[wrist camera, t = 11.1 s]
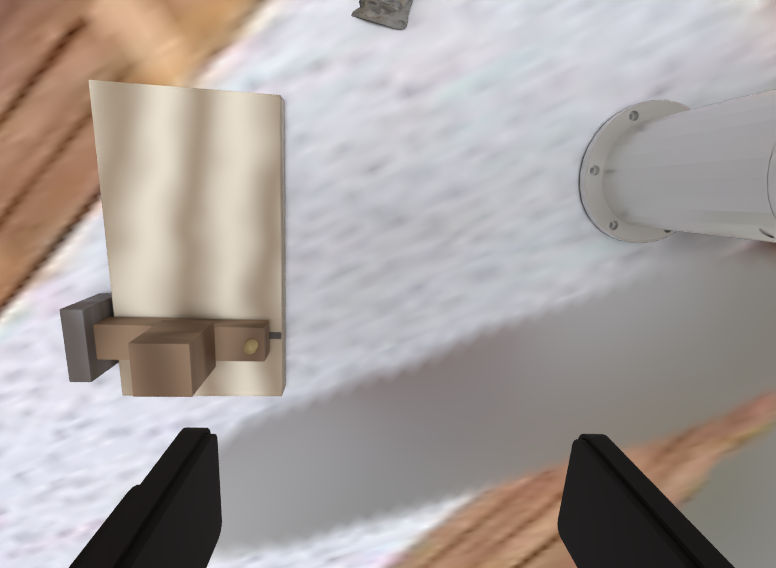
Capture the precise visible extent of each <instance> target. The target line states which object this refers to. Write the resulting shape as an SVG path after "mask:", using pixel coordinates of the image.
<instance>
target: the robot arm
mask: <svg viewBox="0 0 776 568" xmlns="http://www.w3.org/2000/svg"><path fill="white" fill-rule="evenodd" d="M590 169H591V173H590ZM580 191H581V198H582V202H583V205H584V207H585V210H586V212H587V214H588V216H589V217H590V219H591V220H592V222H593V223H594V224H595V225H596V226H597V227H598V228H599V229H600V230H601V231H603V232H604V233H606V234H607V235H609V236H610V237H613V238H616V239H618V240H622V241H627V242H634V243H646V242H652V241H657V240H660V239H662V238H665V237H668V236H669V235H671V234H673V233H675V232H677V231H682V232H691V233H699V234H707V235H716V236H724V237H733V238H741V239H749V240H758V241H766V242H775V243H776V89H772V90H768V91H764V92H760V93H756V94H752V95H748V96H744V97H740V98H736V99H732V100H727V101H723V102H719V103H715V104H711V105H707V106H703V107H699V108H695V109H690V108H689V107H687V106H685V105H682V104H680V103H678V102H674V101H669V100H652V101H647V102H643V103H639V104H637V105H634V106H631V107H628V108H626V109H624V110H623V111H621V112H619V113H617V114H616V115H614V116H613V117H612V118H611V119H610V120H608V121H607V122H606V123H605V124H604V125H603V126H602V127H601V129H600V130H599V131H598V132H597V133H596V135H595V136H594V138H593V140H592V141H591V143H590V145H589V146H588V149H587V151H586V154H585V156H584V159H583V163H582V168H581V173H580ZM609 224H610V225H609ZM219 479H220V478H219V460H218V441H217V436H216V434H211V433H210V430H209V429H208V428H183V429H182V430H181V431H180V433H179V434H178V435H177V437H176V438H175V439H174V441H173V442H172V443H171V445H170V446H169V447H168V449H167V450H166V451H165V452H164V454H163V455H162V456H161V458H160V459H159V460H158V462H157V463H156V464H155V466H154V467H153V468H152V470H151V471H150V472H149V474H148V475H147V476H146V477H145V479H144V480H143V481H142V483H141V484H140V485H136V486H134V487H132V488H131V489H130V490H129V491H128V492H127V494H126V495H125V496H124V498H123V499H122V500H121V501H120V503H119V504H118V505H117V506H116V508H115V509H114V510H113V512H112V513H111V514H110V515H109V517H108V518H107V519H106V521H105V522H104V523H103V524H102V526H101V527H100V528H99V530H98V531H97V532H96V533H95V535H94V536H93V537H92V538H91V540H90V541H89V542H88V544H87V545H86V546H85V547H84V549H83V550H82V551H81V553H80V554H79V555H78V556H77V558H76V559H75V560H74V561H73V563H72V564H71V565H70V567H69V568H206V567H207V565H208V563H209V560H210V558H211V555H212V553H213V551H214V548H215V546H216V544H217V541H218V539H219V536H220V532H221V526H222V515H221V496H220V480H219ZM558 531H559V534H560V537H561V539H562V541H563V543H564V544H565V546H566V548H567V550H568V552H569V553H570V555H571V557H572V559H573V561H574V562H575V564H576V566H577V568H734V567H733V565H732V564H730V562H728V560H727V559H726V558H725V557H724V556H723V555H722V554H721V553H720V552H719V551H718V550H717V549H716V548H715V547H714V546H713V545H712V544H711V543H710V542H709V541H708V540H707V539H706V538H705V537H704V536H703V535H702V534H701V532H700V531H699V530H698V529H697V528H696V527H695V526H694V525H693V524H692V523H691V522H690V521H689V520H688V519H687V518H686V517H685V516H684V515H683V514H682V513H681V512H680V511H679V510H678V509H677V508H676V507H675V506H674V505H673V504H672V503H671V502H670V501H669V500H668V498H667V497H666V496H665V495H664V494H663V493H662V492H661V491H660V490H659V489H658V488H657V487H656V486H655V485H654V484H653V483H652V482H651V481H650V480H649V479H648V478H647V477H646V476H645V475H644V474H643V473H642V472H641V471H640V470H639V469H638V468H637V467H636V465H635V464H634V463H633V462H632V461H631V460H630V459H629V458H628V457H627V456H626V455H625V454H624V453H623V452H622V451H621V450H620V449H619V448H618V447H617V446H616V445H615V444H614V443H613V442H612V441H611V440H610V439H609V438H608V437H607V436H606V435H603V434H581V435H580V436H579V438H578V439H576V440H574V442H573V444H572V449H571V454H570V460H569V465H568V470H567V475H566V480H565V486H564V491H563V496H562V501H561V506H560V512H559V517H558Z"/></svg>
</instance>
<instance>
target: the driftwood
mask: <svg viewBox="0 0 776 568" xmlns="http://www.w3.org/2000/svg"><path fill="white" fill-rule="evenodd" d="M412 1H413V0H359V3H360V8H358V9H356V10H355V11H353V13H352V15H351V16H353V17H354V16H356V17H357V18H358V17H360V18H363V19H365V20H368V21H373V22H376V23H379V24H384V25H386V26H389V27H392V28H395V29H404V28H405V27H406V26H407V22H408V21H407V20H408V14H409V9H410V6H411V4H412Z"/></svg>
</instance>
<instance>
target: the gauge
mask: <svg viewBox="0 0 776 568" xmlns="http://www.w3.org/2000/svg"><path fill="white" fill-rule="evenodd" d="M60 316H61V323H62V330H63V337H64V344H65V352H66V359H67V366H68V373H69V380H70V382H92V381H93V380H95V379H96V378H98V377H99V376H100V375H102V374H103V373H104V372H106V371H107V370H109V369H110V368H111V367H113V366H114V365H115V364H117V363H118V362H119V360H130V370H131V380H132V390H133V396H136V397H193V395H194V394H195V393H196V391H197V390H198V389H199V388H200V386H201V385H202V384H203V382H204V381H205V380H206V379H207V377H208V376H209V375H210V374H211V372H212V371H213V370H214V368H215V367H216V361H256V362H265V360H266V358H267V356H268V354H269V352H270V350H269V320H230V319H187V318H145V317H114V311H113V301H112V294H97V295H95V296H92V297H90V298H87V299H85V300H82V301H80V302H77V303H75V304H72V305H70V306H67V307H65V308H62V309H60Z"/></svg>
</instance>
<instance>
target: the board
mask: <svg viewBox="0 0 776 568" xmlns="http://www.w3.org/2000/svg"><path fill="white" fill-rule="evenodd" d="M89 88H90V97H91V106H92V115H93V125H94V134H95V143H96V153H97V162H98V171H99V181H100V190H101V199H102V208H103V218H104V227H105V236H106V246H107V255H108V264H109V274H110V283H111V292H112V301H113V311H114V317H145V318H187V319H230V320H269V350H270V352H269V354H268V356H267V358H266V360H265V362H256V361H216V367H215V368H214V370H213V371H212V372H211V374H210V375H209V376H208V377H207V379H206V380H205V381H204V382H203V384H202V385H201V386H200V388H199V389H198V390H197V391H196V393H195V394H194V395H193V396H282V394H283V391H284V388H285V191H284V100H283V99H282V97H281V96H280V95H272V94H259V93H247V92H234V91H222V90H209V89H197V88H184V87H172V86H159V85H147V84H134V83H121V82H109V81H96V80H89ZM119 367H120V376H121V385H122V394H123V395H130V396H133V390H132V380H131V370H130V360H119Z"/></svg>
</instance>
